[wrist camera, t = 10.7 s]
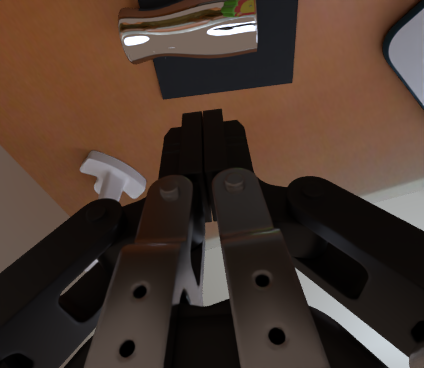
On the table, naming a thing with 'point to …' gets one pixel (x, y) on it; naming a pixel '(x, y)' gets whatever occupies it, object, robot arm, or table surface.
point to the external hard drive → (408, 51)
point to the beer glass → (189, 30)
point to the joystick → (112, 178)
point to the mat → (240, 65)
